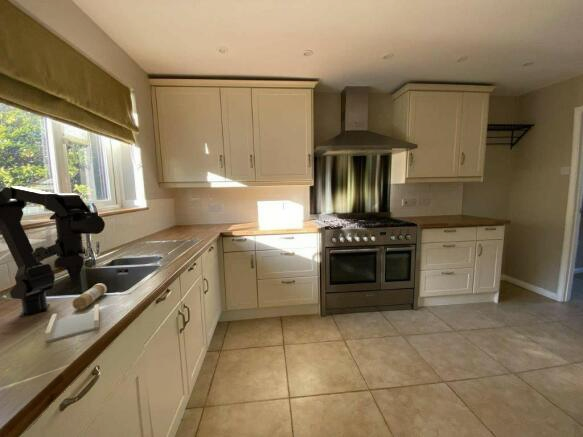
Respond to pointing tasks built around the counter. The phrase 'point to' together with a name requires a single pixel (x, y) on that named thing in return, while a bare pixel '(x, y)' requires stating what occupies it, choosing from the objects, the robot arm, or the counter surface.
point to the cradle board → (72, 325)
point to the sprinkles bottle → (89, 296)
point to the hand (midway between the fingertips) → (74, 282)
